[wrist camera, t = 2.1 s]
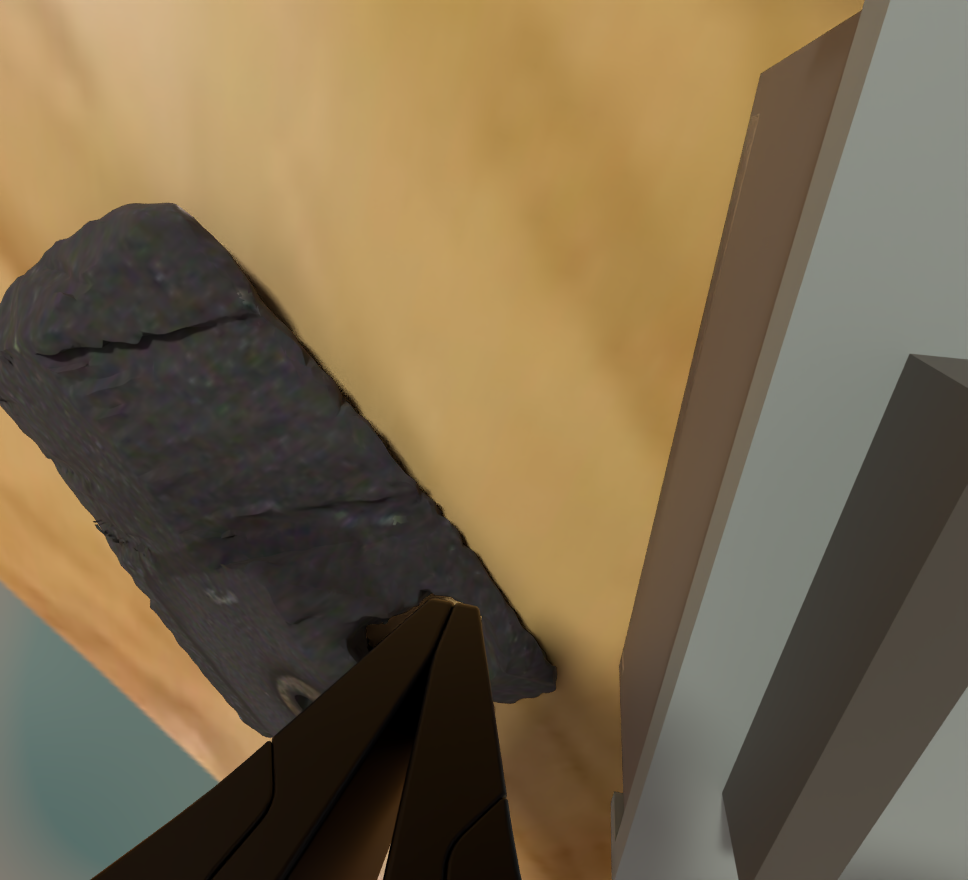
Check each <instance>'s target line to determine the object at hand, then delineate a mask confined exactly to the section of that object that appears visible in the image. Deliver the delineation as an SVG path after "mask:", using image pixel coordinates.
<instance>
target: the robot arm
mask: <svg viewBox="0 0 968 880" xmlns="http://www.w3.org/2000/svg"><path fill="white" fill-rule="evenodd" d="M506 796H507V793H506V786H505V779H504V772H503V766H502V759H501V752H500V745H499V739H498V732H497V725H496V718H495V711H494V705H493V698H492V691H491V684H490V678H489V671H488V664H487V657H486V650H485V644H484V637H483V630H482V623H481V617H480V610H479V608H478V607H477V606H473V605H468V604H462V603H457V604H455V605H454V603H453V602H451V601H447V600H441V599H436V598H432V599H430V600H428V601H427V602H426V603H425V604H423V605H422V606H421V607H420V608H419V609H418V610H417V611H416V612H414V613H413V614H412V615H411V616H410V617H409V618H408V619H406V620H405V621H404V622H403V623H402V624H401V625H400V626H398V627H397V628H396V629H395V630H394V631H393V632H392V633H391V634H389V635H388V636H387V637H386V638H385V639H384V640H383V641H381V642H380V643H379V644H378V645H377V646H376V647H375V648H373V649H372V650H371V651H370V652H369V653H368V654H367V655H366V656H364V657H363V658H362V659H361V660H360V661H359V662H358V663H356V664H355V665H354V666H353V667H352V668H351V669H350V670H348V671H347V672H346V673H345V674H344V675H343V676H342V677H341V678H339V679H338V680H337V681H336V682H335V683H334V684H333V685H331V686H330V687H329V688H328V689H327V690H326V691H325V692H323V693H322V694H321V695H320V696H319V697H318V698H317V699H316V700H314V701H313V702H312V703H311V704H310V705H309V706H308V707H306V708H305V709H304V710H303V711H302V712H301V713H300V714H298V715H297V716H296V717H295V718H294V719H293V720H292V721H291V722H289V723H288V724H287V725H286V726H285V727H284V728H283V729H281V730H280V731H279V732H278V733H277V734H276V735H275V736H273V738H272V742H271V741H268V742H266V743H265V744H264V745H263V746H262V747H261V748H259V749H258V750H257V751H256V752H255V753H254V754H253V755H252V756H250V757H249V758H248V759H247V760H246V761H245V762H243V763H242V764H241V765H240V766H239V767H237V768H236V769H235V770H234V771H233V772H232V773H230V774H229V775H228V776H227V777H226V778H224V779H223V780H222V781H221V782H220V783H218V784H217V785H216V786H215V787H214V788H212V789H211V790H210V791H209V792H207V793H206V794H205V795H203V796H202V797H201V798H199V799H198V800H197V801H196V802H194V803H193V804H192V805H190V806H189V807H188V808H187V809H185V810H184V811H183V812H181V813H180V814H179V815H177V816H176V817H175V818H173V819H172V820H171V821H169V822H168V823H167V824H165V825H164V826H163V827H161V828H160V829H158V830H157V831H156V832H154V833H153V834H152V835H151V836H149V837H148V838H146V839H145V840H144V841H142V842H141V843H139V844H138V845H137V846H135V847H134V848H133V849H132V850H130V851H129V852H127V853H126V854H125V855H123V856H122V857H120V858H119V859H118V860H116V861H115V862H114V863H112V864H111V865H110V866H108V867H107V868H106V869H104V870H103V871H102V872H100V873H99V874H97V875H96V876H95V877H93V878H92V879H91V880H377V878H378V876H379V873H380V870H381V868H382V865H383V862H384V860H385V857H386V854H387V852H388V849H389V846H390V850H389V854H388V859H387V863H386V868H385V873H384V877H383V880H522V879H521V875H520V870H519V865H518V859H517V854H516V848H515V843H514V837H513V831H512V825H511V818H510V811H509V804H508V800H507V799H506ZM390 844H391V845H390Z"/></svg>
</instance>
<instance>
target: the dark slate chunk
mask: <svg viewBox="0 0 968 880" xmlns="http://www.w3.org/2000/svg"><path fill="white" fill-rule="evenodd" d="M0 406H1V407H2V408H3V409H4V410H5V411H6V413H7V414H8V415H9V416H10V417H11V418H12V419H13V420H14V421H15V423H16V424H17V425H18V427H19V428H20V429H21V430H22V432H23V433H25V434H26V435H27V436H28V437H30V438H31V439H32V440H33V441H34V442H35V443H36V444H37V445H38V447H39V448H40V450H41V451H42V453H43V454H44V455H45V456H46V457H47V458H48V459H51V460H52V461H53V462H54V464H55V466H56V468H57V470H58V472H59V474H60V475H61V477H62V478H63V480H64V481H65V482H66V484H67V485H68V486H69V488H70V489H71V490H72V491H73V493H74V494H75V495H76V497H77V498H78V500H79V501H80V502H81V504H82V505H83V506H84V507H85V508H86V509H87V510H88V511H89V512H90V513H91V515H92V516H93V517H94V518H95V520H96V521H93V522H97V523H98V524H99V526H100V527H99V526H98V524H97V525H96V524H95V526H96V528H97V529H98V530H99V531H100V532H102V533H103V534H104V535H105V537H106V539H107V542H108V544H109V546H110V548H111V549H112V551H113V552H114V553H115V554H116V556H117V558H118V560H119V562H120V564H121V566H122V567H123V568H124V569H125V570H126V571H127V572H128V573H129V574H130V575H131V576H132V578H133V580H134V582H135V584H136V586H137V587H138V588H139V589H140V590H141V591H142V592H143V593H144V594H146V595H147V596H148V597H149V598H150V608H151V609H152V610H153V611H155V613H156V614H157V615H158V616H159V617H160V619H161V620H162V622H163V623H164V624H165V626H166V627H167V628H168V629H169V630H170V631H171V632H172V633H173V635H174V637H175V639H176V641H177V642H178V644H179V645H180V646H181V647H182V648H183V649H184V650H185V651H186V652H187V653H188V655H189V656H190V657H191V659H192V660H193V661H194V663H195V664H196V665H197V666H198V667H199V669H200V670H201V672H202V673H203V674H204V676H205V677H206V678H207V679H208V680H209V681H210V682H211V684H212V685H213V686H214V687H215V688H216V689H217V690H218V691H219V692H220V694H221V695H222V696H223V697H224V699H225V700H226V702H227V703H228V704H229V705H230V706H231V707H233V708H234V709H235V710H236V712H237V713H238V715H239V717H240V719H241V720H242V721H243V722H244V723H245V724H247V725H248V726H250V727H251V728H252V729H254V730H256V731H257V732H259V733H260V734H261V735H262V736H265V737H268V738H272V737H273V736H275V735H276V734H277V733H278V732H279V731H280V730H281V729H283V728H284V727H285V726H286V725H287V724H288V723H289V722H291V721H292V720H293V719H294V718H295V717H296V716H297V715H298V714H300V713H301V712H302V711H303V710H304V709H305V708H306V707H308V706H309V705H310V704H311V703H312V702H313V701H314V700H316V699H317V698H318V697H319V696H320V695H321V694H322V693H323V692H325V691H326V690H327V689H328V688H329V687H330V686H331V685H333V684H334V683H335V682H336V681H337V680H338V679H339V678H341V677H342V676H343V675H344V674H345V673H346V672H347V671H348V670H350V669H351V668H352V667H353V666H354V665H355V664H356V663H358V662H359V661H360V660H361V659H362V658H363V657H364V656H366V655H367V654H368V653H369V652H370V651H371V650H372V649H373V647H371V646H368V644H369V642H370V641H369V640H368V639H367V637H366V627H367V625H371V624H380V623H382V622H383V624H387V623H388V621H389V618H391V617H392V616H396V615H398V614H402V613H404V612H407V611H408V610H410V609H411V608H413V607H414V606H418V605H419V604H420V602H421V601H422V600H423V599H424V598H426V597H427V596H429V595H430V594H432V593H433V594H434V595H441V596H447V597H452V598H453V599H454V600H456V601H459V602H461V603H464V604H468V605H473V606H477V607H478V608H479V610H480V616H482V618H481V623H482V630H483V637H484V644H485V650H486V657H487V664H488V671H489V678H490V684H491V691H492V698H493V702H498V703H507V704H511V703H515V702H516V701H517V700H519V699H522V698H535V697H537V696H539V695H540V694H541V693H550V692H553V691H555V689H556V679H557V669H556V667H555V666H553V665H551V664H550V663H549V662H548V661H547V660H546V654H545V652H544V651H543V650H542V649H541V648H540V647H539V645H538V643H537V642H536V640H535V638H534V637H533V636H532V635H531V634H530V633H528V632H527V631H526V630H525V629H524V628H523V627H522V626H521V625H520V623H519V620H518V618H517V616H516V614H515V612H514V610H513V609H512V608H511V607H510V606H509V605H508V604H507V603H506V601H505V599H504V598H503V596H502V594H501V592H500V591H499V589H498V588H497V586H496V585H495V584H494V582H493V581H492V580H491V578H490V576H489V575H488V573H487V571H486V570H485V568H484V566H483V565H482V563H481V562H480V560H479V559H478V557H477V555H476V554H475V553H474V552H473V551H472V550H471V549H469V548H468V547H466V546H465V545H463V543H462V539H461V536H460V533H459V531H458V530H457V529H456V528H455V527H454V526H453V525H452V524H451V523H450V521H449V520H448V519H446V518H445V517H443V516H441V515H442V511H441V510H440V509H439V508H438V507H437V505H436V503H435V502H434V501H433V500H432V499H431V498H429V497H428V496H427V495H426V494H425V493H423V492H422V491H421V490H420V488H419V487H418V485H417V483H416V481H415V480H414V479H412V478H411V477H409V476H408V475H407V474H405V472H404V471H403V470H402V469H401V467H400V466H399V465H398V464H397V463H396V461H395V460H394V459H393V458H392V457H391V455H390V454H389V452H388V451H387V449H386V447H385V445H384V444H383V442H382V441H381V440H380V438H379V437H378V436H377V434H376V432H375V431H374V429H373V427H372V426H371V424H370V423H369V422H368V421H367V420H366V419H365V418H363V417H362V416H360V415H359V414H357V413H356V412H355V410H354V409H353V408H352V406H351V405H350V404H349V403H348V402H347V401H346V400H345V399H344V398H343V397H342V394H341V392H340V390H339V388H338V386H337V384H336V383H335V381H334V380H333V379H332V378H331V377H330V376H329V375H328V374H327V373H325V372H324V371H323V370H322V369H321V368H320V367H319V366H318V365H317V363H316V362H315V360H314V359H313V358H312V357H311V356H310V355H309V354H308V352H307V351H306V350H305V349H304V348H303V347H302V346H301V345H300V344H299V343H298V341H297V339H296V337H295V335H294V334H293V332H292V331H291V330H290V329H289V328H288V327H287V326H286V325H285V324H284V323H282V322H281V321H280V320H279V319H278V318H277V317H276V316H275V315H274V314H273V312H272V311H271V310H270V309H269V308H268V307H267V306H266V305H265V304H264V303H263V302H262V300H261V299H260V297H259V296H258V294H257V292H256V290H255V289H254V287H253V286H252V284H251V283H250V281H249V280H248V278H247V277H246V276H245V274H244V273H243V271H242V270H241V268H240V267H239V265H238V264H237V263H236V261H235V260H234V258H233V257H232V256H231V254H230V253H229V252H228V251H227V250H226V249H225V248H224V247H223V246H222V245H221V244H220V243H219V242H218V241H217V240H216V239H215V238H214V236H213V235H211V234H210V233H209V232H208V231H207V230H206V229H204V228H203V227H202V226H201V225H200V224H199V223H198V221H197V220H196V219H195V218H194V217H192V216H191V215H190V214H189V213H187V212H186V211H185V210H183V209H182V208H181V207H179V206H178V205H176V204H173V203H158V204H141V203H133V204H127V205H124V206H121V207H119V208H116V209H114V210H112V211H111V212H109V213H108V214H106V215H105V216H104V217H102V218H101V219H99V220H94V221H89V222H88V223H86V224H85V225H84V226H83V227H82V228H81V229H80V230H79V231H77V232H76V233H75V234H74V235H72V236H71V237H69V238H67V239H63V240H59V241H57V242H55V244H54V245H53V246H52V247H51V248H50V249H49V250H47V251H46V252H45V253H44V255H43V256H42V258H41V259H40V261H39V262H38V263H37V264H36V265H34V266H33V267H32V268H31V269H30V270H28V271H27V272H26V273H25V275H22V276H20V277H18V278H17V279H16V280H15V281H14V282H13V283H12V284H11V285H10V287H9V288H8V289H7V291H6V292H5V294H4V297H3V299H2V302H1V303H0ZM101 529H102V530H101Z"/></svg>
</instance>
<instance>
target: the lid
mask: <svg viewBox="0 0 968 880" xmlns="http://www.w3.org/2000/svg"><path fill="white" fill-rule="evenodd" d="M611 859H612V880H968V0H865V2H864V5H863V9H862V12H861V15H860V19H859V22H858V26H857V29H856V32H855V36H854V39H853V42H852V46H851V49H850V52H849V56H848V59H847V63H846V66H845V69H844V73H843V76H842V79H841V83H840V86H839V90H838V93H837V96H836V100H835V103H834V106H833V110H832V113H831V117H830V120H829V123H828V127H827V130H826V133H825V137H824V140H823V144H822V147H821V150H820V154H819V157H818V160H817V164H816V167H815V170H814V174H813V177H812V181H811V184H810V187H809V191H808V194H807V197H806V201H805V204H804V208H803V211H802V214H801V218H800V221H799V224H798V228H797V231H796V235H795V238H794V241H793V245H792V248H791V251H790V255H789V258H788V262H787V265H786V268H785V272H784V275H783V278H782V282H781V285H780V288H779V292H778V295H777V299H776V302H775V305H774V309H773V312H772V315H771V319H770V322H769V326H768V329H767V332H766V336H765V339H764V342H763V346H762V349H761V353H760V356H759V359H758V363H757V366H756V369H755V373H754V376H753V380H752V383H751V386H750V390H749V393H748V396H747V400H746V403H745V407H744V410H743V413H742V417H741V420H740V423H739V427H738V430H737V433H736V437H735V440H734V444H733V447H732V450H731V454H730V457H729V460H728V464H727V467H726V471H725V474H724V477H723V481H722V484H721V487H720V491H719V494H718V498H717V501H716V504H715V508H714V511H713V514H712V518H711V521H710V525H709V528H708V531H707V535H706V538H705V541H704V545H703V548H702V551H701V555H700V558H699V562H698V565H697V568H696V572H695V575H694V578H693V582H692V585H691V589H690V592H689V595H688V599H687V602H686V605H685V609H684V612H683V616H682V619H681V622H680V626H679V629H678V632H677V636H676V639H675V643H674V646H673V649H672V653H671V656H670V659H669V663H668V666H667V669H666V673H665V676H664V680H663V683H662V686H661V690H660V693H659V696H658V700H657V703H656V707H655V710H654V713H653V717H652V720H651V723H650V727H649V730H648V734H647V737H646V740H645V744H644V747H643V750H642V754H641V757H640V761H639V764H638V767H637V771H636V774H635V777H634V781H633V784H632V787H631V791H630V794H629V798H628V801H627V804H626V808H625V811H624V799H623V793H619V792H615V791H614V794H613V797H612V801H611Z"/></svg>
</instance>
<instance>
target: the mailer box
mask: <svg viewBox="0 0 968 880" xmlns="http://www.w3.org/2000/svg"><path fill="white" fill-rule="evenodd" d="M861 12H862V10H861V11H860V12H858V13H857V14H855V15H853V16H852V17H850V18H849V19H847V20H846V21H844V22H842V23H841V24H839V25H838V26H836V27H834V28H833V29H831V30H830V31H828V32H826V33H825V34H823V35H822V36H820V37H818V38H817V39H815V40H814V41H812V42H810V43H809V44H807V45H806V46H804V47H802V48H801V49H799V50H798V51H796V52H794V53H793V54H791V55H790V56H788V57H787V58H785V59H783V60H782V61H780V62H779V63H777V64H775V65H774V66H772V67H771V68H769V69H767V70H766V71H764V72H763V73H761V75H760V79H759V83H758V87H757V91H756V95H755V100H754V104H753V108H752V112H751V116H750V121H749V125H748V129H747V133H746V137H745V142H744V146H743V150H742V154H741V158H740V163H739V167H738V171H737V175H736V179H735V183H734V188H733V192H732V196H731V200H730V204H729V209H728V213H727V217H726V221H725V225H724V230H723V234H722V238H721V242H720V246H719V250H718V255H717V259H716V263H715V267H714V271H713V276H712V280H711V284H710V288H709V292H708V297H707V301H706V305H705V309H704V313H703V318H702V322H701V326H700V330H699V334H698V338H697V343H696V347H695V351H694V355H693V359H692V364H691V368H690V372H689V376H688V380H687V385H686V389H685V393H684V397H683V401H682V405H681V410H680V414H679V418H678V422H677V426H676V431H675V435H674V439H673V443H672V447H671V452H670V456H669V460H668V464H667V468H666V472H665V477H664V481H663V485H662V489H661V493H660V498H659V502H658V506H657V510H656V514H655V519H654V523H653V527H652V531H651V535H650V540H649V544H648V548H647V552H646V556H645V560H644V565H643V569H642V573H641V577H640V581H639V586H638V590H637V594H636V598H635V602H634V607H633V611H632V615H631V619H630V623H629V627H628V632H627V636H626V640H625V644H624V648H623V653H622V657H621V661H620V665H619V672H620V704H621V736H622V767H623V799H624V811H625V808H626V804H627V801H628V798H629V794H630V791H631V787H632V784H633V781H634V777H635V774H636V771H637V767H638V764H639V761H640V757H641V754H642V750H643V747H644V744H645V740H646V737H647V734H648V730H649V727H650V723H651V720H652V717H653V713H654V710H655V707H656V703H657V700H658V696H659V693H660V690H661V686H662V683H663V680H664V676H665V673H666V669H667V666H668V663H669V659H670V656H671V653H672V649H673V646H674V643H675V639H676V636H677V632H678V629H679V626H680V622H681V619H682V616H683V612H684V609H685V605H686V602H687V599H688V595H689V592H690V589H691V585H692V582H693V578H694V575H695V572H696V568H697V565H698V562H699V558H700V555H701V551H702V548H703V545H704V541H705V538H706V535H707V531H708V528H709V525H710V521H711V518H712V514H713V511H714V508H715V504H716V501H717V498H718V494H719V491H720V487H721V484H722V481H723V477H724V474H725V471H726V467H727V464H728V460H729V457H730V454H731V450H732V447H733V444H734V440H735V437H736V433H737V430H738V427H739V423H740V420H741V417H742V413H743V410H744V407H745V403H746V400H747V396H748V393H749V390H750V386H751V383H752V380H753V376H754V373H755V369H756V366H757V363H758V359H759V356H760V353H761V349H762V346H763V342H764V339H765V336H766V332H767V329H768V326H769V322H770V319H771V315H772V312H773V309H774V305H775V302H776V299H777V295H778V292H779V288H780V285H781V282H782V278H783V275H784V272H785V268H786V265H787V262H788V258H789V255H790V251H791V248H792V245H793V241H794V238H795V235H796V231H797V228H798V224H799V221H800V218H801V214H802V211H803V208H804V204H805V201H806V197H807V194H808V191H809V187H810V184H811V181H812V177H813V174H814V170H815V167H816V164H817V160H818V157H819V154H820V150H821V147H822V144H823V140H824V137H825V133H826V130H827V127H828V123H829V120H830V117H831V113H832V110H833V106H834V103H835V100H836V96H837V93H838V90H839V86H840V83H841V79H842V76H843V73H844V69H845V66H846V63H847V59H848V56H849V52H850V49H851V46H852V42H853V39H854V36H855V32H856V29H857V26H858V22H859V19H860V15H861Z"/></svg>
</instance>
